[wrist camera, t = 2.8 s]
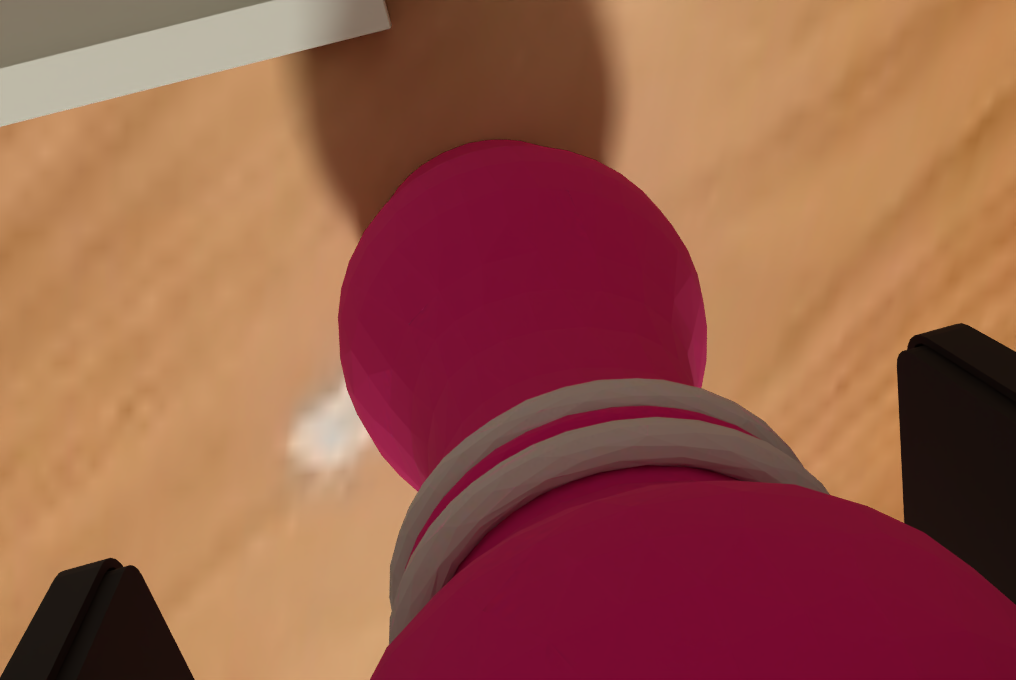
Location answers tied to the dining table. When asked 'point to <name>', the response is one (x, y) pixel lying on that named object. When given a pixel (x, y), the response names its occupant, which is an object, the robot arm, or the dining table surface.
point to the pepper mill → (609, 459)
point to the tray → (153, 44)
